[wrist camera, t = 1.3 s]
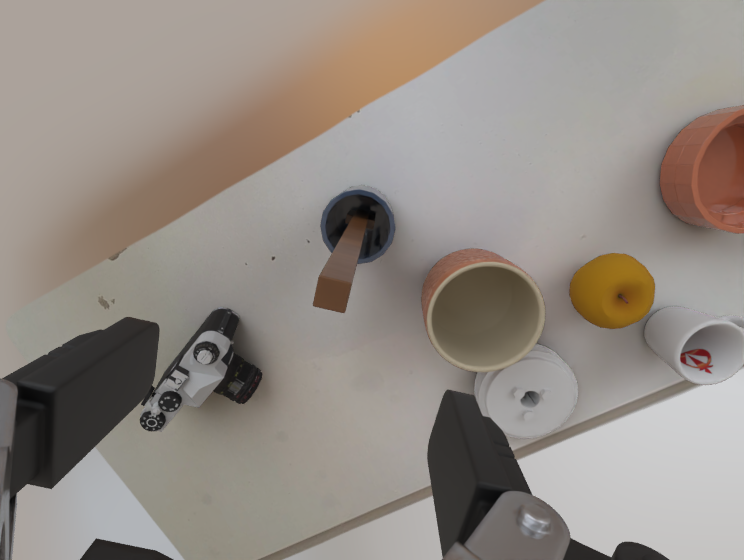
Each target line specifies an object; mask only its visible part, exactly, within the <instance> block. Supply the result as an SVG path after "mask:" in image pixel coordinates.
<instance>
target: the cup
mask: <svg viewBox="0 0 744 560" xmlns="http://www.w3.org/2000/svg"><path fill="white" fill-rule="evenodd" d="M740 327H742V328H740ZM644 335H645V340H646V342H647V344H648V345H649V347H650V348H651V349H652V350H653V351H654V352H655V353H656V354H657V355H658V356H659V357H660V358H661V359H663V360H664V361H665V362H666V363H667V364H668V365H669V366H670V367H672V368H673V369H674V370H675V371H676V372H677V373H678V374H679V375H680V376H682V377H683V378H684V379H686V380H687V381H689V382H691V383H694V384H699V385H712V384H717V383H720V382H722V381H725V380H727V379H728V378H730V377H732V376H733V375H734V374H735V373H737V372H738V370H739V369H740V368H741V367H742V366H743V364H744V317H741V316H734V315H727V316H721V317H714V316H711V315H708V314H705V313H701V312H698V311H695V310H692V309H689V308H685V307H678V306H672V307H666V308H663V309H661V310H659V311H657V312H656V313H654V314H653V315H652V316H651V317H650V318H649V320H648V321H647V323H646V326H645V330H644Z"/></svg>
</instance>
